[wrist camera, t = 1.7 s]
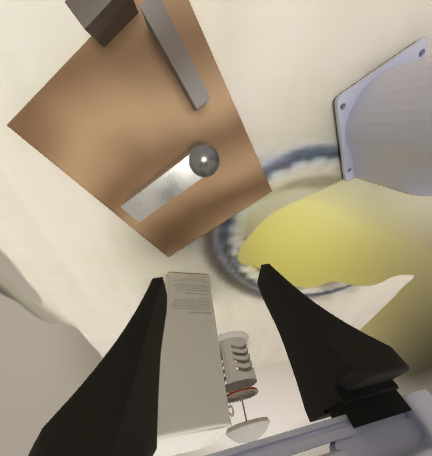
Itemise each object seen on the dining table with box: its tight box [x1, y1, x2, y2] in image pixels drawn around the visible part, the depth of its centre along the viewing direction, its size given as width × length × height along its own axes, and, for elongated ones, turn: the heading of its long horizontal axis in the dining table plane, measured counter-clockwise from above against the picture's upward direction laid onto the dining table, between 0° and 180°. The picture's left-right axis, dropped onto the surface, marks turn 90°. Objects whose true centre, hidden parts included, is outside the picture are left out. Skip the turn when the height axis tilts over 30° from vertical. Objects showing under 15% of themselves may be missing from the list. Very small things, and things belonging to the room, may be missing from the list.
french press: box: [218, 331, 269, 443], centre depth 29 cm, size 10×12×25 cm
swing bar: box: [121, 141, 220, 222], centre depth 14 cm, size 9×2×3 cm, turn 122°
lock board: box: [7, 0, 272, 257], centre depth 14 cm, size 17×15×4 cm
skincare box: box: [153, 272, 231, 456], centre depth 20 cm, size 8×7×16 cm
